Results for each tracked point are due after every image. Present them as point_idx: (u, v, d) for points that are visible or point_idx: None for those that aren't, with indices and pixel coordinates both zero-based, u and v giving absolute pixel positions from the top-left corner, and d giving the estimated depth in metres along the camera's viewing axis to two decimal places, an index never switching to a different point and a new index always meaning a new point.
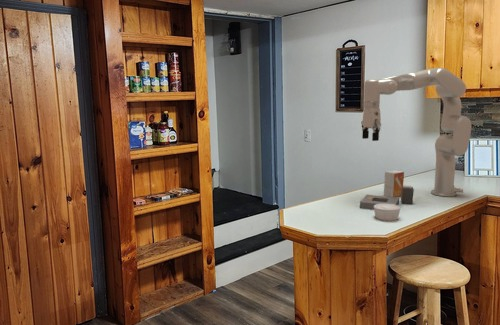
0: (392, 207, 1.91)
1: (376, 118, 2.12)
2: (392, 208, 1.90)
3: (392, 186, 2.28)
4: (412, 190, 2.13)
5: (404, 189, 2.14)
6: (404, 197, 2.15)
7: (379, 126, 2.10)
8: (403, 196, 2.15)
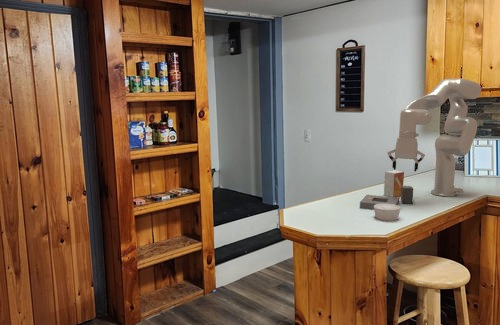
0: (392, 207, 1.91)
1: (417, 149, 2.11)
2: (392, 208, 1.90)
3: (392, 186, 2.28)
4: (412, 190, 2.13)
5: (404, 189, 2.14)
6: (404, 197, 2.15)
7: None
8: (403, 196, 2.15)
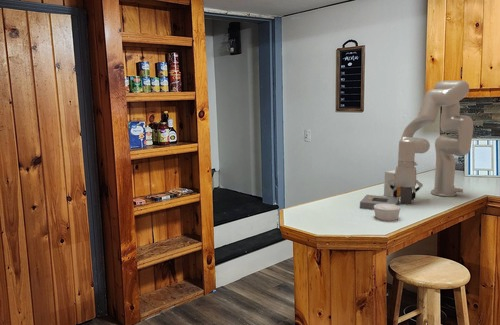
0: (392, 207, 1.91)
1: None
2: (392, 208, 1.90)
3: None
4: (411, 190, 2.13)
5: (403, 189, 2.14)
6: (403, 197, 2.15)
7: (421, 186, 2.12)
8: (402, 196, 2.15)
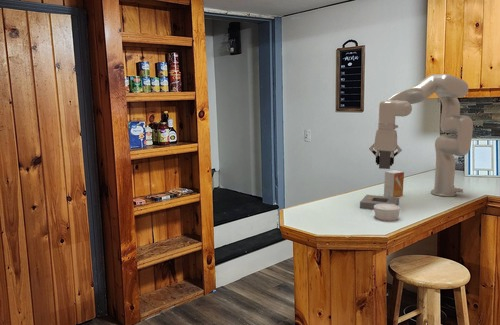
0: (392, 207, 1.91)
1: (396, 142, 2.06)
2: (392, 208, 1.90)
3: (392, 186, 2.28)
4: (389, 154, 2.07)
5: (381, 153, 2.08)
6: (381, 161, 2.08)
7: None
8: (380, 160, 2.08)
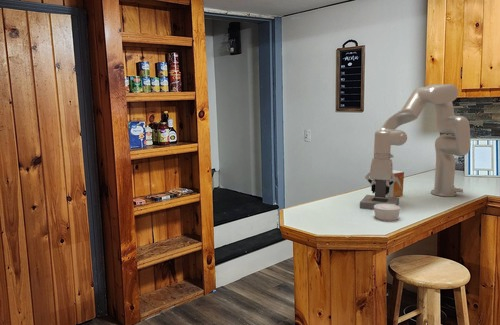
0: (392, 207, 1.91)
1: (392, 171, 2.08)
2: (392, 208, 1.90)
3: (392, 186, 2.28)
4: (385, 183, 2.08)
5: (376, 182, 2.09)
6: (377, 190, 2.10)
7: None
8: (376, 188, 2.10)
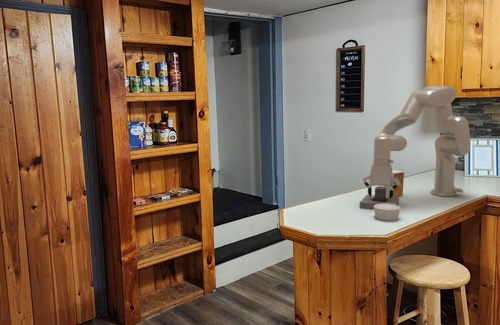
0: (392, 207, 1.91)
1: (391, 175, 2.08)
2: (392, 208, 1.90)
3: None
4: (384, 191, 2.09)
5: (376, 190, 2.10)
6: (377, 198, 2.11)
7: (398, 183, 2.07)
8: (376, 197, 2.11)
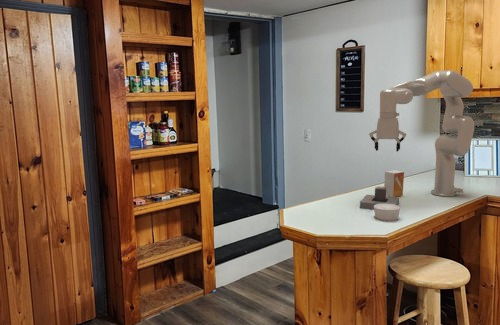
0: (392, 207, 1.91)
1: (398, 128, 2.09)
2: (392, 208, 1.90)
3: (392, 186, 2.28)
4: (384, 191, 2.09)
5: (376, 190, 2.10)
6: (377, 198, 2.11)
7: None
8: (376, 197, 2.11)
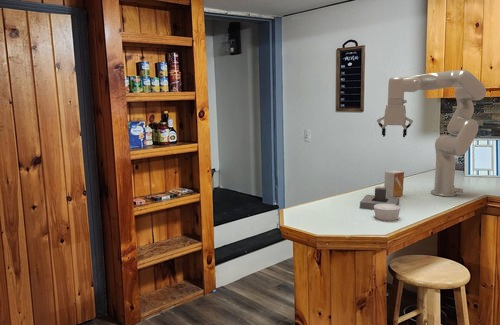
0: (392, 207, 1.91)
1: (405, 115, 2.16)
2: (392, 208, 1.90)
3: (392, 186, 2.28)
4: (384, 191, 2.09)
5: (376, 190, 2.10)
6: (377, 198, 2.11)
7: (412, 122, 2.15)
8: (376, 197, 2.11)
